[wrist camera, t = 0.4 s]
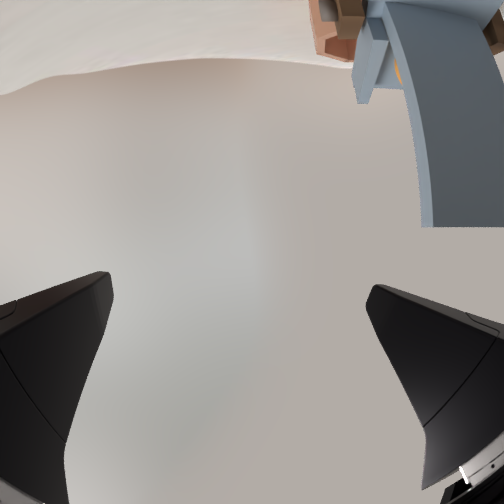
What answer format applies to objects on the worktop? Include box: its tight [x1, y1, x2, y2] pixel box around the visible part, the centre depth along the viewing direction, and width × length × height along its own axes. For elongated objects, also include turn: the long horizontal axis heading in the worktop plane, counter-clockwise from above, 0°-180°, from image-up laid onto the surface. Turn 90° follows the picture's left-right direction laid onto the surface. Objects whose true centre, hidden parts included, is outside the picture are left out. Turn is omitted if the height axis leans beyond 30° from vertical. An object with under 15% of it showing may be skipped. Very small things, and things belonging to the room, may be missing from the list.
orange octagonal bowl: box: [309, 0, 362, 62], centre depth 15 cm, size 8×8×3 cm
